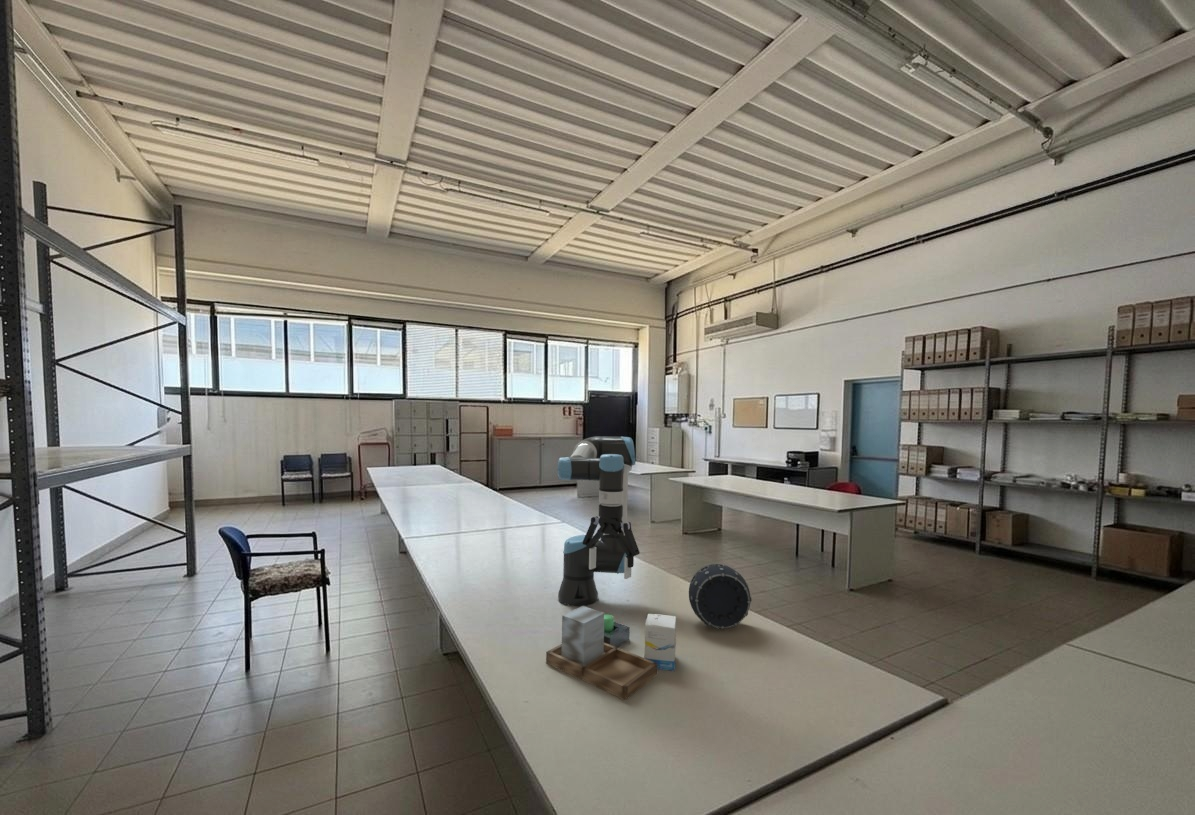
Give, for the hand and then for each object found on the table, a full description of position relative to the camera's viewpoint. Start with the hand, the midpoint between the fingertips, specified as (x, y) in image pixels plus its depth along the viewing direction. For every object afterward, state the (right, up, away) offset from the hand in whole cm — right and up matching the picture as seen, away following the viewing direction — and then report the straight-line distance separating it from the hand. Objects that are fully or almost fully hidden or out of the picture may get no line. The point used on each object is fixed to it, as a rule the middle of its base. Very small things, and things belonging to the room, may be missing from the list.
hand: (609, 573), depth 145 cm
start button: (-1, -18, -1) cm, 18 cm away
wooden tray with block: (-3, -20, -17) cm, 26 cm away
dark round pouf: (+37, -22, +12) cm, 45 cm away
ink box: (+14, -21, -13) cm, 28 cm away
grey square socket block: (-1, -21, -1) cm, 21 cm away
